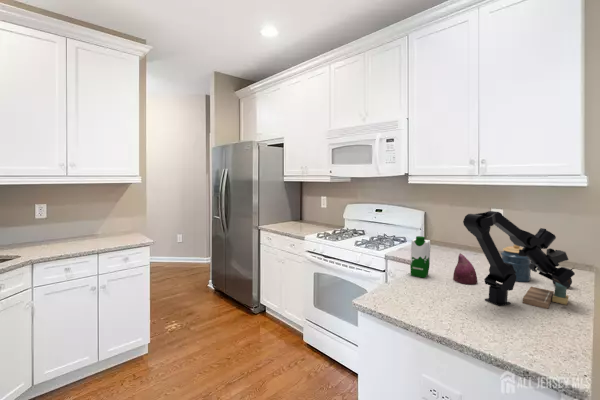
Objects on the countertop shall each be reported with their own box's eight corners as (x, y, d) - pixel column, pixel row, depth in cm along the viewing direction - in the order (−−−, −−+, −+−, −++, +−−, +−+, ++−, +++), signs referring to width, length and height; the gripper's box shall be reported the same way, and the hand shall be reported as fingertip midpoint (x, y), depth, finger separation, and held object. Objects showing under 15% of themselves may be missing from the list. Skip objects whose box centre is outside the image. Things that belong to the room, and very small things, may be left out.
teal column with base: (566, 304, 123) (569, 277, 123) (552, 301, 127) (554, 274, 126) (568, 300, 128) (570, 274, 128) (553, 297, 132) (556, 271, 131)
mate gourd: (550, 283, 151) (552, 262, 150) (571, 286, 147) (573, 265, 146) (551, 286, 145) (553, 265, 145) (573, 290, 141) (575, 268, 140)
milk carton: (408, 275, 158) (410, 236, 156) (412, 271, 165) (414, 234, 164) (426, 279, 153) (428, 238, 152) (430, 274, 160) (432, 236, 159)
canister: (534, 279, 156) (537, 244, 155) (523, 284, 149) (526, 247, 147) (506, 272, 167) (508, 240, 165) (494, 276, 159) (496, 242, 158)
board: (547, 309, 119) (548, 303, 119) (522, 302, 125) (522, 297, 125) (553, 295, 134) (553, 290, 134) (530, 290, 139) (530, 286, 139)
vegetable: (451, 287, 151) (443, 257, 151) (458, 280, 158) (450, 251, 158) (475, 288, 143) (466, 256, 144) (481, 280, 151) (473, 249, 151)
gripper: (571, 248, 117) (600, 279, 117) (538, 239, 136) (564, 265, 135) (547, 268, 119) (576, 298, 118) (518, 256, 137) (543, 282, 137)
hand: (564, 285), depth 127 cm, fingers closed on teal column with base, 4 cm apart
